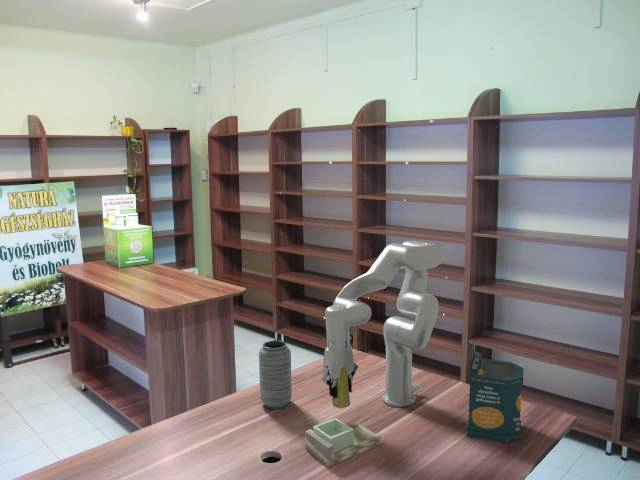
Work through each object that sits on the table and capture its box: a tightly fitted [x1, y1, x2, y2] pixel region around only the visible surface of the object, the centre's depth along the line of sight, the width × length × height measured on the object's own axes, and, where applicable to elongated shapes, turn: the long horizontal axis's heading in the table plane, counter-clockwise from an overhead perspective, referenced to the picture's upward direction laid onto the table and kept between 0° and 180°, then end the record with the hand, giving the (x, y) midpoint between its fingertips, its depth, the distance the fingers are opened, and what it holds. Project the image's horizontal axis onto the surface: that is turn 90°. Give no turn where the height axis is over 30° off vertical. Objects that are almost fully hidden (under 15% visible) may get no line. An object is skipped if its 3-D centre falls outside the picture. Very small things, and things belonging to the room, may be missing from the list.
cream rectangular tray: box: [304, 420, 385, 467], centre depth 170 cm, size 22×12×6 cm, turn 126°
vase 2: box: [331, 366, 351, 409], centre depth 181 cm, size 6×6×14 cm
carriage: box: [312, 417, 354, 454], centre depth 167 cm, size 9×9×6 cm
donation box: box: [466, 338, 525, 444], centre depth 177 cm, size 16×16×28 cm
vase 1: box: [258, 340, 293, 410], centre depth 197 cm, size 12×12×23 cm
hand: (340, 393), depth 181 cm, fingers closed on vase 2, 5 cm apart
